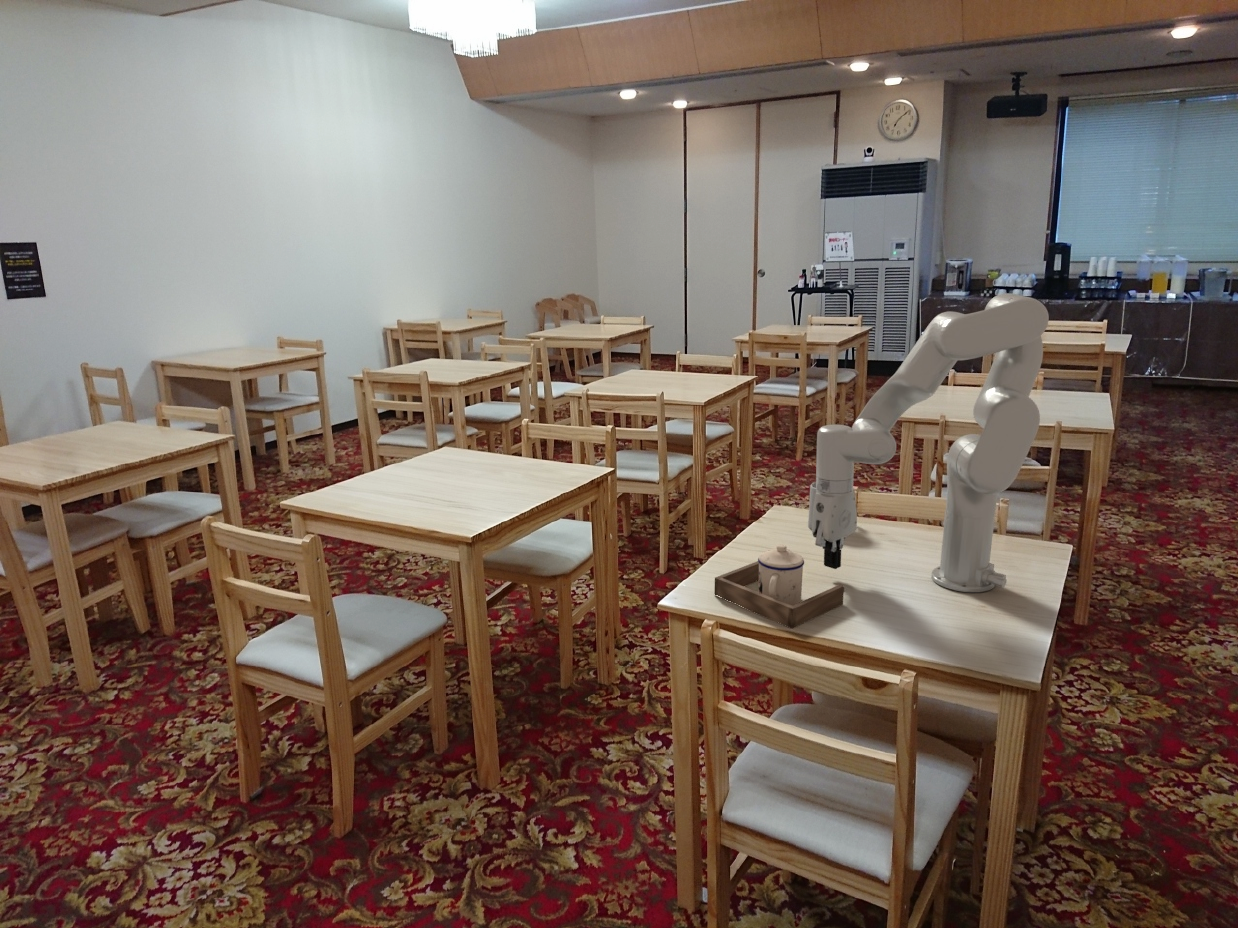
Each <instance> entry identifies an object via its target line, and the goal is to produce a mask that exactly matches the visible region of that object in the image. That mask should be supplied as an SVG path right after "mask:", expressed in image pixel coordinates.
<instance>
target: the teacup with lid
mask: <svg viewBox="0 0 1238 928" xmlns="http://www.w3.org/2000/svg"><path fill="white" fill-rule="evenodd" d="M757 561H758V562H759V581H757V583H758V584H757V585H758V586H757V589H758V590H757V592H759V593H761V594H764V595H766V596H769V597H771V598H774V599H776V600H779V601H781V602H784V603H786V604H789V605H791V606H793V605H795V604H798V603H800V602H802V589H803V588H802V587H803V570H804V565H805V560H804V558H803V556H802V555H801V554H800V553H798V552H795V551H793V550H790V549H788V547H787V545H785V544H777V545H776V548H773V549H770V550H765V551H763V552H762V553H760V554H759V556H758V559H757Z"/></svg>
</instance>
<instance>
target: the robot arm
mask: <svg viewBox="0 0 1238 928" xmlns="http://www.w3.org/2000/svg"><path fill="white" fill-rule="evenodd" d="M1049 316H1050V315H1049V312H1048V309H1047V307H1046V306H1045V305H1044V304H1043V303H1042V302H1041V301H1039V300H1037V299H1036V298H1033V297H1029V296H1025V295H1021V294H1016V293H1010V292H1009V293H1008V292H1007V293H1005V292H1004V293H1001V294H998V295H995V296H994V297H993V298H990V300H989V301H988V303H987V304H986V306H985V307H984V310H980V311H975V312H971V313H965V314H964V313H962V312H957V311H944V312H941V313H939V314H937V315H936V316H935V317H934V318H933V319H932V320H931V321H930V323H928V325H927V327H926V328H925V329H924V331H923V332H922V334H921V335H920V336H919V338H918V340H917V341H916V343H915V344H914V345H913V347H912V349H911V350H910V351H909V353H908V355H907V356H906V357H905V358H904V361H903V362H902V363H901V365H900V366H899V367H898V368H897V370H896V371H895V373H894V374H893V375H892V376H891V377H890V378H889V379H887V381H886V382H884V384H883V385H882V386H881V387H880V388H879V389H878V390H877V391H876V392H875V393H874V394H873V395H872V396H871V397H870V398H869V400H868V401H867V403H866V404H865V406H864V407H863V409H862V411H861V412H860V413H859V415H857V418H856V419H855V420H854V423H853V424H852V427H850V426H849V425H844V424H827V425H823V426H821V427H820V428H818V430H817V433H816V465H815V466H816V468H815V469H816V473H815V474H816V475H815V476H816V477H815V482H816V495H815V500H814V507H813V517H812V530H811V532H812V536H813V538H815V543H814V544H815V546H817V547H821V548H822V549H823V565H824V567H827V568H829V569H834V570H837V569H838V568H840V567H842V549H843V548H844V544H845V543H844V542H845V540H846V538H847V537H848V536H850V535H853V534H854V533H855V532H856V531H857V526H858V524H857V522H858V516H857V515H858V513H857V512H858V509H857V497H856V496H857V495H856V492H855V488H854V474H855V473H854V472H855V471H854V470H855V469H854V467H855V463H861V464H866V465H867V464H868V465H883V464H885V463H887V462H889V461H890V460H891V459H892V458H894V456H895V454H896V451H897V441H896V439H895V437H894V436H893V434H892V433H891V430H892V429H893V427H894V426H895V424H896V423H897V422H898V420H899V419H900V418H901V417H902V416H903V415H904V413H906V412H907V411H908V410H909V409H910V408H911V407H913V406H915V405H917V404H919V403H922V402H923V401H926V400H928V399H929V398H931V397H932V396H933V395H934V394H935V393H936V391H937V390H938V389H939V387H940V386H941V385H942V383H943V381H944V380H945V379H946V377H947V376H948V375H949V373H950V372H951V371H952V368H954V366H955V364H956V363H957V362H958V361H967V360H972V359H978V358H981V357H985V356H989V355H993V354H995V355H994V358H993V361H992V363H991V367H990V370H989V372H988V374H987V375H986V376H987V377H986V378H985V381H984V384H982V387H981V390H980V392H979V394H978V396H977V398H976V401H975V403H974V406H973V413H972V414H973V419H974V420H975V422H976V423H977V424H978V426H979V427H980V428H982V432H981V434H977V433H968V434H965V435H962V436H960V437H959V438H957V439H956V440H955V441H954V442H953V443H952V444H951V446H950V448H949V450H948V454H947V457H946V477H947V479H946V481H947V486H946V489H947V490H946V502H945V503H946V504H945V511H944V512H945V513H944V521H943V534H942V542H941V543H942V544H941V553H940V564H939V566H937V567H935V568H933V569H932V571H931V579H932V581H934V583H935V584H937V585H939V586H941V587H943V588H946V589H948V590H952V591H956V592H957V591H958V592H963V593H983V592H988V591H991V590H993V588H995V587H996V586H997V587H999V588H1000V587H1001V588H1005V587H1006V585H1007V579H1006V578H1007V575H1006V574H1004V573H999V572H996V571H995V564H994V563H991V562H990V561H991V552H992V545H993V535H994V527H995V517H996V509H997V499H998V498H997V494H999V493H1003V492H1004V491H1005V490H1007V489H1008V488H1009V487H1010V486H1012V484H1013V483H1014V482H1015V480H1016V478H1017V477H1018V474H1019V472H1020V470H1021V469H1022V466H1023V465H1024V462H1025V460H1026V458H1027V456H1028V454H1029V452H1030V449H1031V447H1032V445H1033V443H1034V441H1035V438H1036V437H1037V434H1038V432H1039V428H1040V422H1041V421H1040V420H1041V414H1040V410H1039V408H1038V405H1037V404H1036V402H1035V400H1033V399H1032V398H1031V397H1030V395H1031V392H1032V391H1033V387H1034V385H1035V382H1036V380H1037V377H1038V374H1039V372H1040V370H1041V366H1042V362H1043V356H1044V343H1043V339H1042V335H1043V334H1045V331H1046V330H1047V327H1048V325H1049V319H1050V318H1049Z"/></svg>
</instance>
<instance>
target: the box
mask: <svg viewBox="0 0 1238 928" xmlns="http://www.w3.org/2000/svg"><path fill="white" fill-rule="evenodd" d="M758 582H759V562H758V560H757V561H754V562H752V563H749V564H747V565H744V566H741V567H739V568H736V569H734V570H732V571H728V572H727V573H723V574H721V575H719V576H716V577H714V594H715V595H718V596H720V597H722V598H724V599H726V600H728V601H731V602H733V603H736V604H738V605H740V606H742V607H744V608H743V609H745V608H746V609H745V610H747V609H748V610H747V611H749V610H750V611H749V612H752V613H754V612H755V614H756V613H757V615H759V616H762V617H763V616H764V617H763V618H767V619H768V620H771V619H772V620H771V621H773V620H774V622H775V621H776V623H778V622H779V623H778V624H780V623H781V624H780V625H782V624H783V626H785V625H786V626H785V627H787V626H788V627H787V628H789V627H790V629H794V627H795V628H797V627H799V626H801V625H803V624H805V623H807V622H809V621H811V620H813V619H816V618H818V617H820V616H821V615H824V614H826V613H828V612H830V611H832V610H835V609H837V608H839V607H840V606H843V605H844V594H845V593H844V592H845V591H844V590H845V585H842V584H837V585H835V586H833V587H831V588H829V589H826V590H825V591H822V592H820V593H817V594H816V595H814V596H811V597H809V598H807V599H805V600H803V601H802V600H801V601H800V603H798V604H795V605H793V606H791V605H789V604H786V603H784V602H781V601H779V600H776V599H774V598H771V597H769V596H766V595H764V594H761V593H759V592H758V591H756V590H754V589H751V588H748V587H747V586H749V585H751V584H752V585H753V584H754V583H758ZM744 586H745V587H744ZM714 594H713V595H714ZM726 600H725V601H726ZM728 601H727V602H728ZM733 603H732V604H733ZM738 605H737V606H738ZM740 606H739V607H740ZM742 607H741V608H742ZM804 622H805V623H804ZM800 624H801V625H800ZM798 625H799V626H798ZM796 626H797V627H796Z"/></svg>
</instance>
